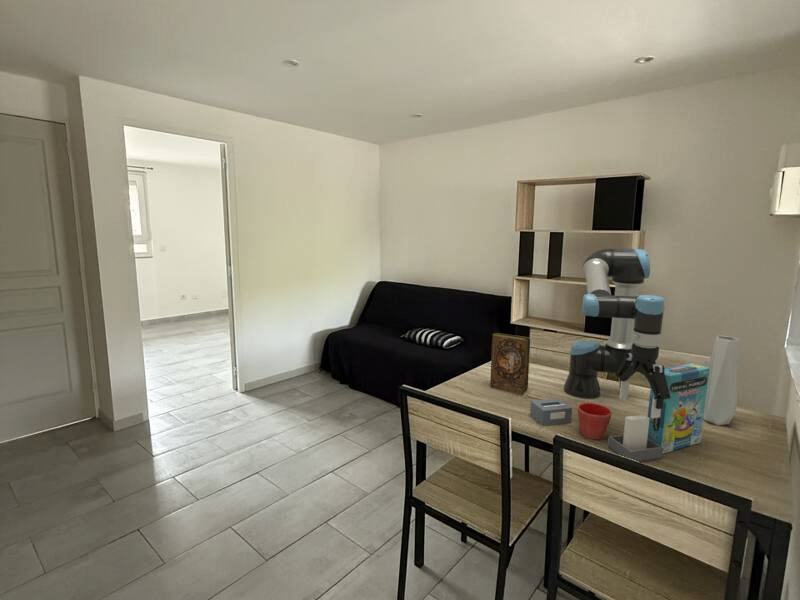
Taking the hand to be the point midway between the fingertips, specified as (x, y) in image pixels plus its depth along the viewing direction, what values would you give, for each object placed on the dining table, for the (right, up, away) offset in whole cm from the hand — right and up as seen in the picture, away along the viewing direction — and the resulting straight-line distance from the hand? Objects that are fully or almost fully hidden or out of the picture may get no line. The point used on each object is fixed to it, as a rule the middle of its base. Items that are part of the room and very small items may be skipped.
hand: (638, 408), depth 137 cm
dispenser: (-19, -11, +27) cm, 35 cm away
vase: (+44, -12, +26) cm, 52 cm away
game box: (+16, -15, +8) cm, 23 cm away
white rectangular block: (0, -15, +2) cm, 15 cm away
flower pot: (-8, -13, +15) cm, 22 cm away
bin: (0, -15, +2) cm, 16 cm away
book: (-28, -6, +57) cm, 64 cm away
